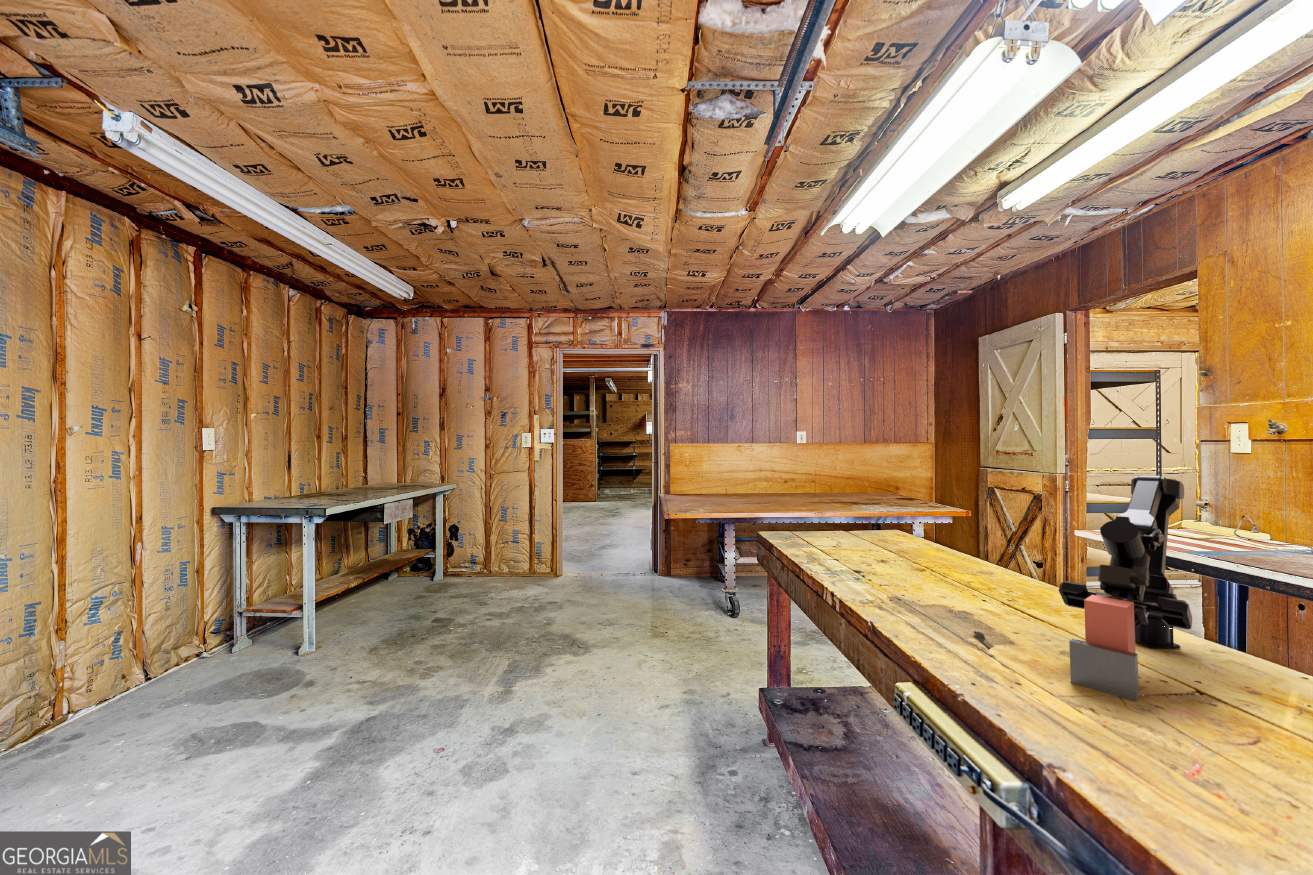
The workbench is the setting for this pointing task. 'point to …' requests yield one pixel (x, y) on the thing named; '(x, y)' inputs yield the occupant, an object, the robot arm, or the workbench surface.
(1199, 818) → the workbench surface
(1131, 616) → the red block on plate
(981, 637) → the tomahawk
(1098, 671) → the plate
